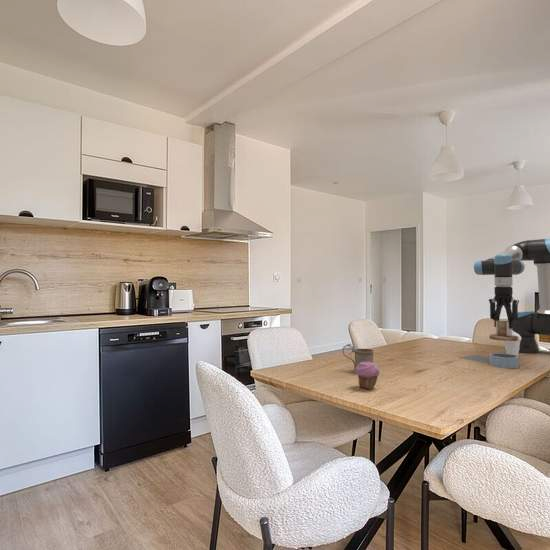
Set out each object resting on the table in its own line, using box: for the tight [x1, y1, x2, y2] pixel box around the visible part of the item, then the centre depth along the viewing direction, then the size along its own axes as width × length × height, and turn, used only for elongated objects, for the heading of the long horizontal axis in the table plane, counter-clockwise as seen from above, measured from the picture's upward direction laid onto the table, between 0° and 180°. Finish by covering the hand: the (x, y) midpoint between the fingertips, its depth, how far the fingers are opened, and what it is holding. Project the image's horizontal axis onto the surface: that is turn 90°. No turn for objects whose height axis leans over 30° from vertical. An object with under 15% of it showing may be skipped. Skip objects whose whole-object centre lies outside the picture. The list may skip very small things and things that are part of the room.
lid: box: [488, 320, 518, 342], centre depth 187 cm, size 12×12×8 cm
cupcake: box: [355, 362, 380, 391], centre depth 148 cm, size 9×9×10 cm
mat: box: [458, 354, 489, 363], centre depth 203 cm, size 14×14×1 cm
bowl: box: [488, 352, 520, 370], centre depth 187 cm, size 12×12×5 cm
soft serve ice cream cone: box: [503, 330, 521, 356], centre depth 204 cm, size 8×8×16 cm
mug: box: [342, 343, 375, 374], centre depth 175 cm, size 14×10×12 cm
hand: (503, 334), depth 187 cm, fingers closed on lid, 5 cm apart
